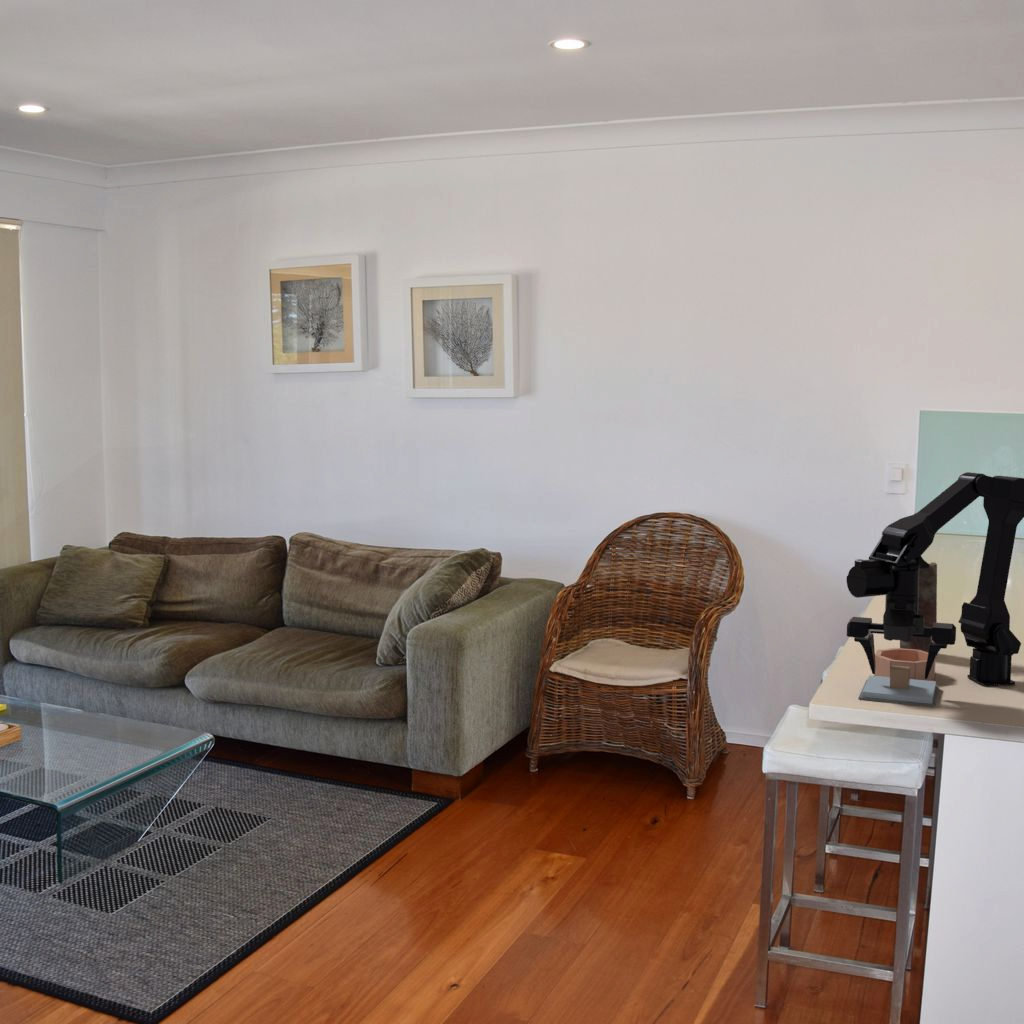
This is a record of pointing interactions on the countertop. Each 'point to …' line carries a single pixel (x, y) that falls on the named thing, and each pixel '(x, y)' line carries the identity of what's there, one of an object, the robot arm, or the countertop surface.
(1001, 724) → the countertop surface
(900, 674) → the lid
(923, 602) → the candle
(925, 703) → the mat
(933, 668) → the dish
